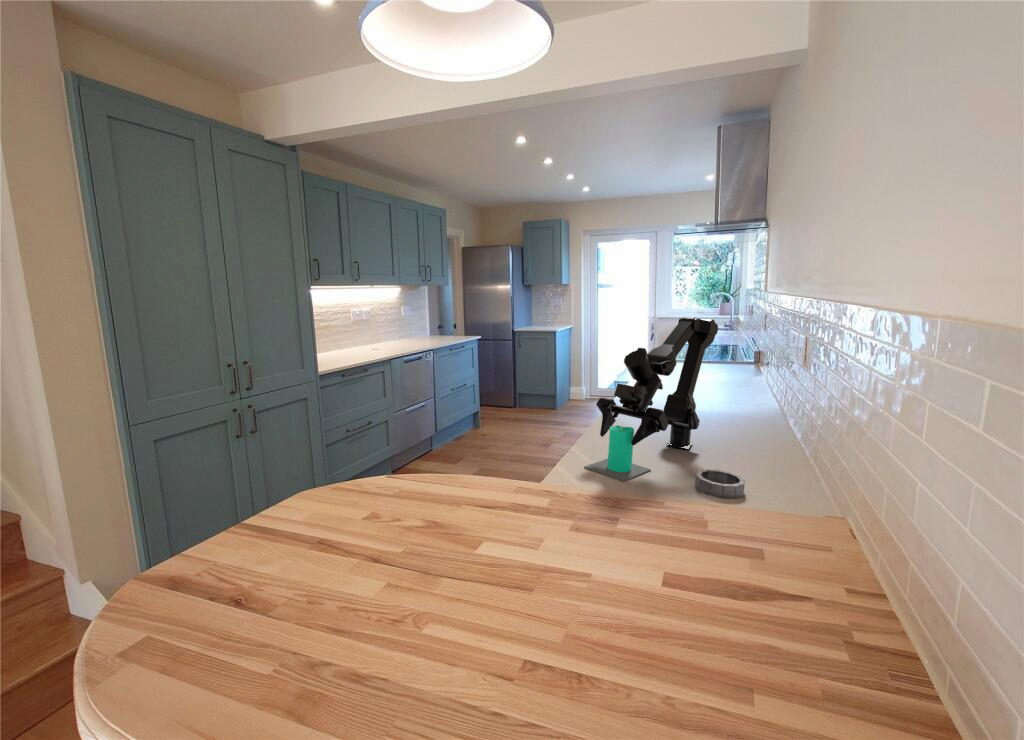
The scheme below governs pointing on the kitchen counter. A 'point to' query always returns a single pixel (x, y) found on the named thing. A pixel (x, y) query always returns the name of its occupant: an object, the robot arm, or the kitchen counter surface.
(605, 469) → the mat
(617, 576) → the kitchen counter surface
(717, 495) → the ring holder
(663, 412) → the robot arm
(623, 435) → the candle
